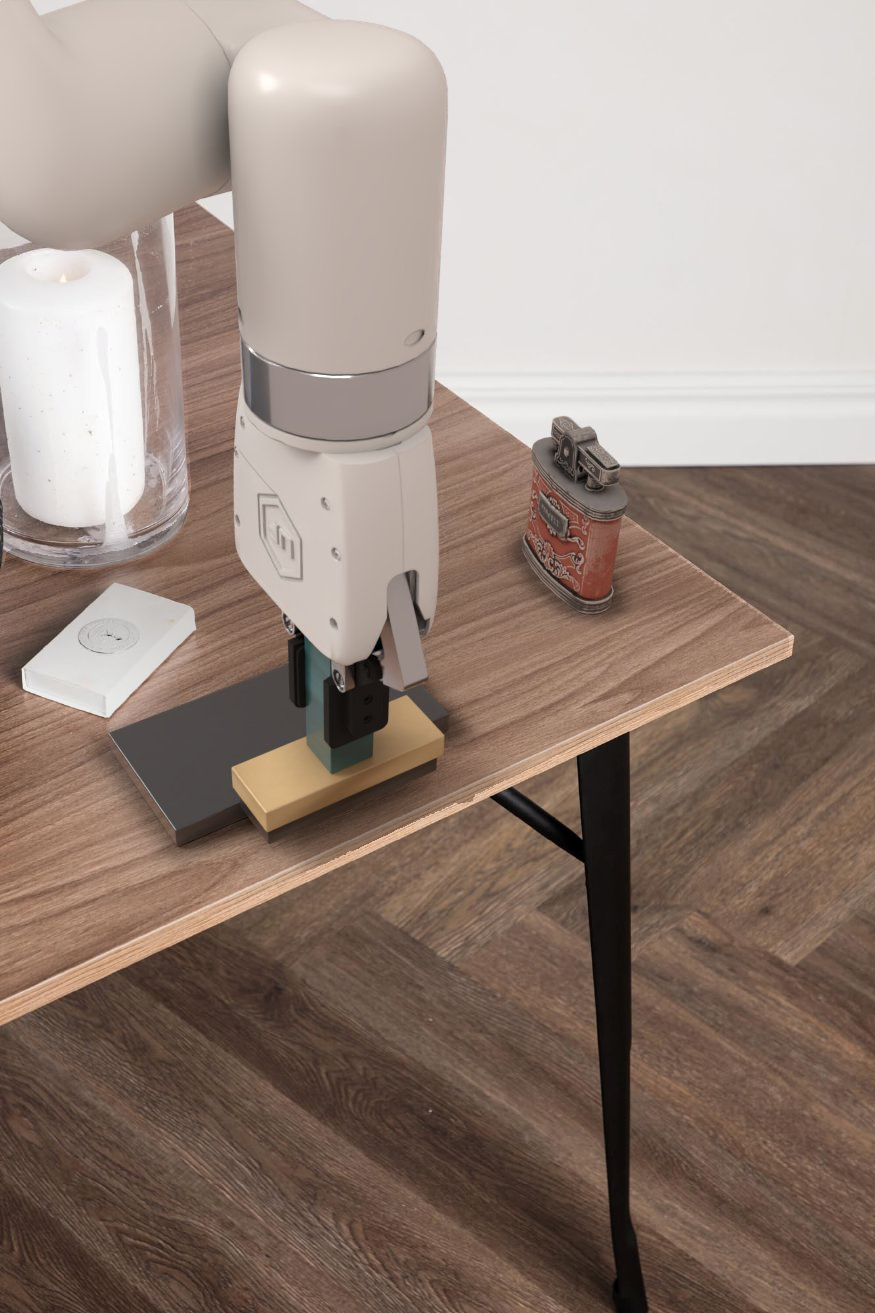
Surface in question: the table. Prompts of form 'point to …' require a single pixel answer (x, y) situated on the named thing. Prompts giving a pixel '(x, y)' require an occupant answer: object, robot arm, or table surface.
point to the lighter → (574, 516)
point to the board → (218, 748)
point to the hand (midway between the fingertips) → (338, 712)
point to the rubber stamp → (333, 763)
